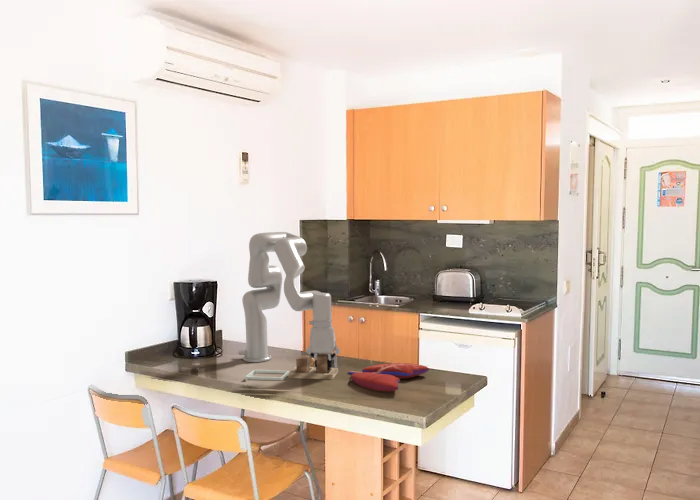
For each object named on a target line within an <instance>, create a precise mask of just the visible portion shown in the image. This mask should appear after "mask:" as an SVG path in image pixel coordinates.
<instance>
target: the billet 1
mask: <svg viewBox="0 0 700 500" xmlns="http://www.w3.org/2000/svg"><path fill="white" fill-rule="evenodd" d="M310 357H311V355H309V354H308V355H307V354H305V355H302V354H301V355H299V356H298V357H296V359H295V360H296V361H295V362H296V365H295V367H296V368H297V373H308V372H309V371H310V367H311V358H310Z"/></svg>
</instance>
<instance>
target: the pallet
mask: <svg viewBox="0 0 700 500" xmlns="http://www.w3.org/2000/svg"><path fill="white" fill-rule="evenodd" d="M338 373H339V368H338V367H337V368H331V369H330V371H329V372H328V373H327V374H322V373H317V370H316V367H315V366H310V371H309V372H308V373H297V368H296V366H294V367H293V368H292V370H289V373H288V375H287V377H288V379H312V380H313V379H314V380H316V379H317V380H333V379H334V378H335V376H336V375H337V374H338Z"/></svg>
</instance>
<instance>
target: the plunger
mask: <svg viewBox="0 0 700 500" xmlns="http://www.w3.org/2000/svg"><path fill="white" fill-rule="evenodd" d="M310 367H315V360H314V358H313V357H311V358H310Z"/></svg>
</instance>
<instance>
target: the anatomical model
mask: <svg viewBox="0 0 700 500" xmlns="http://www.w3.org/2000/svg"><path fill="white" fill-rule="evenodd" d="M429 370H430V368H429V367H428V366H426V365H422V364H415V363H409V362H401V363H400V362H399V363H398V362H397V363H396V362H395V363H381V364H379V363H378V364H374V365H371V366H367V367H363V369H361V371H354V370H349V371H347V374H348V375H350V379H351V381H352V382H353V383H354V384H356V385H358V386H359V387H361V388H365V389H369V390H373V391H376V392H394V391H398V390H399V384H400V382H401V379H402V380H403V379H411V378H414V377H417V376H419V375H424V374H425V373H427V372H428V371H429Z"/></svg>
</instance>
